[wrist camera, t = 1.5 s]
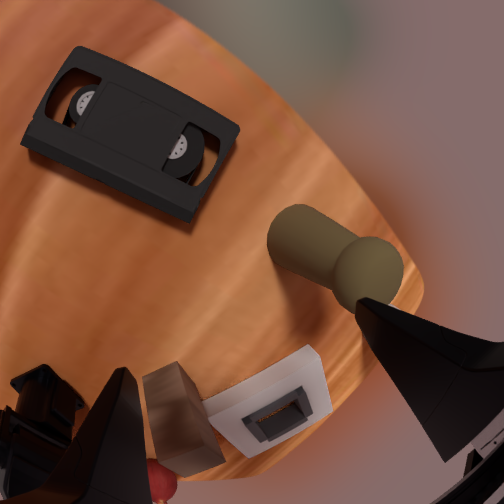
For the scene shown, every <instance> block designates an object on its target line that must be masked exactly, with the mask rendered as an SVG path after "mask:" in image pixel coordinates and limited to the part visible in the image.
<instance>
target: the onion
mask: <svg viewBox="0 0 504 504" xmlns="http://www.w3.org/2000/svg"><path fill="white" fill-rule="evenodd" d="M147 468H148V476H149V483H150V490H151V496H152V501H153V502H156V503H157V504H167V502H166V501H167V500H169V499H170V498H172V497H173V495H174V494H175V492H176V489H177V479H176V476H175V474H174V472H173V471H171V470H170V469H168V468H166V467H165V466H163V465H161V464H159V463H158V462H157V461H156V460H154V459H148V460H147Z"/></svg>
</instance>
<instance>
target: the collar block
mask: <svg viewBox="0 0 504 504" xmlns="http://www.w3.org/2000/svg"><path fill="white" fill-rule="evenodd" d="M293 400H294V404H292V405H290V406H289V407H287V408H285V409H283V410H282V411H280V412H278V413H276V414H274V415H273V416H271V417H269V418H267V419H265V420H263V421H261V422H260V423H259V422H258V421H257V420H259V419H261V418H263V417H265V416H267V415H269V414H270V413H272V412H274V411H276V410H278V409H280V408H281V407H283V406H285V405H287V404H288V403H290V402H292V401H293ZM202 404H203V407H204V410H205V412H206V415H207V417H208V420H209V422H210V424H211V425H212V426H213V427H214V428H215V429H216V430H218V431H219V432H220V433H221V434H222V435H223V436H224V437H225V438H226V439H227V440H228V441H229V442H230V443H231V444H233V445H234V446H235V447H236V448H237V449H238V450H239V451H240V452H242V453H243V454H244V455H245V456H246V457H247V458H251V457H253V456H256V455H258V454H260V453H262V452H264V451H266V450H268V449H270V448H272V447H273V446H275V445H277V444H279V443H281V442H283V441H285V440H287V439H288V438H290V437H292V436H294V435H295V434H297V433H299V432H301V431H302V430H304V429H306V428H307V427H309V426H311V425H312V424H314V423H316V422H317V421H319V420H320V419H322V418H323V417H325V416H326V415H328V414H330V413H331V412H333V409H332V404H331V400H330V396H329V391H328V387H327V383H326V379H325V375H324V370H323V366H322V362H321V358H320V356H319V355H318V354H317V353H316V352H315V351H314V349H313V348H312V347H311V346H310V345H309V344H307V345H305V346H304V347H302V348H300V349H299V350H297V351H296V352H294V353H292V354H291V355H289V356H287V357H285V358H284V359H282V360H280V361H279V362H277V363H275V364H273V365H272V366H270V367H268V368H266V369H265V370H263V371H261V372H259V373H257V374H255V375H254V376H252V377H250V378H248V379H246V380H244V381H242V382H240V383H238V384H237V385H235V386H233V387H231V388H229V389H227V390H225V391H223V392H221V393H219V394H217V395H215V396H212V397H210V398H208V399H206V400H204V401H202Z"/></svg>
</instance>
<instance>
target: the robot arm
mask: <svg viewBox="0 0 504 504" xmlns="http://www.w3.org/2000/svg"><path fill="white" fill-rule="evenodd" d="M355 319H356V322H357V324H358V325H359V327H360V329H361V331H362V333H363V335H364V336H365V338H366V340H367V342H368V344H369V346H370V348H371V349H372V351H373V352H374V354H375V356H376V357H377V358H378V360H379V361H380V363H381V364H382V366H383V367H384V369H385V370H386V371H387V373H388V374H389V376H390V377H391V379H392V380H393V382H394V383H395V385H396V387H397V388H398V390H399V391H400V393H401V394H402V396H403V397H404V399H405V400H406V402H407V403H408V405H409V406H410V408H411V409H412V411H413V413H414V414H415V416H416V417H417V419H418V420H419V422H420V424H421V425H422V427H423V429H424V430H425V432H426V433H427V435H428V437H429V438H430V440H431V441H432V443H433V445H434V446H435V448H436V450H437V451H438V453H439V454H440V456H441V458H442V460H443V461H444V462H445V463H446V462H447V461H448V460H449V459H451V458H452V457H453V456H454V455H456V454H457V453H458V452H459V451H460V450H462V449H463V448H464V447H465V446H466V445H467V444H468V443H470V442H471V444H472V445H473V446H474V449H473V450H472V451H471V452H470V453H469V454H468V456H467V462H466V467H465V471H464V476H463V479H461V480H460V481H459V482H458V483H457V484H455V485H454V486H453V487H452V488H450V489H449V490H448V491H447V492H445V493H444V494H443V495H441V496H440V497H439V498H437V499H436V500H435V501H433V502H432V503H430V504H504V342H491V341H487V340H483V339H480V338H477V337H473V336H469V335H466V334H463V333H460V332H456V331H454V330H451V329H448V328H445V327H443V326H439V325H438V324H435V323H433V322H430V321H428V320H425V319H422V318H420V317H417V316H415V315H412V314H410V313H407V312H404V311H402V310H399V309H397V308H394V307H392V306H389V305H386V304H384V303H381V302H379V301H376V300H373V299H371V298H368V297H363V298H361V299H358V300H357V301H356V308H355ZM45 369H46V370H45ZM10 384H11V386H12V387H13V388H14V389H15V390H16V391H17V392H18V393H19V397H18V401H17V405H16V409H15V411H13V410H12V408H10V407H9V406H7V405H6V407H5V409H4V410H0V493H1V495H2V497H3V499H4V500H0V504H153V503H152V496H151V490H150V483H149V476H148V468H147V460H146V450H145V439H144V426H143V416H142V410H141V404H140V398H139V391H138V385H137V381H136V379H135V378H134V377H133V375H132V374H131V372H130V371H129V370H128V368H126V367H121V368H117V369H115V371H114V372H113V374H112V375H111V377H110V379H109V380H108V382H107V383H106V385H105V387H104V388H103V390H102V392H101V393H100V395H99V396H98V398H97V400H96V401H95V403H94V405H93V406H92V408H91V410H90V411H89V413H88V415H87V416H86V418H85V420H84V422H83V423H82V425H81V427H80V428H79V430H78V432H77V434H76V436H75V437H74V439H73V441H72V426H74V423H75V411H76V410H79V409H82V408H84V402H83V401H82V400H81V399H80V398H79V397H78V396H77V395H76V394H75V393H74V392H73V391H72V390H71V389H70V388H69V387H68V386H67V385H66V384H65V383H64V382H63V381H62V380H61V379H60V378H59V377H58V376H57V375H56V374H55V373H54V372H53V371H52V370H51V369H50V367H49V366H47V365H46V364H42V365H40V366H38V367H36V368H34V369H32V370H30V371H28V372H26V373H24V374H22V375H20V376H18V377H15V378H13V379H12V380H11V382H10Z"/></svg>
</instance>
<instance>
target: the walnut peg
mask: <svg viewBox="0 0 504 504" xmlns="http://www.w3.org/2000/svg"><path fill="white" fill-rule="evenodd" d="M142 379H143V386H144V393H145V400H146V406H147V412H148V418H149V423H150V428H151V433H152V438H153V443H154V447H155V452H156V456H157V460H158V463H159V464H161V465H163V466H165V467H166V468H168V469H170V470H171V471H173V472H175V473H177V474H179V475H180V476H182V477H184V478H186V477H188V476H191V475H194V474H197V473H200V472H202V471H205V470H208V469H210V468H213V467H215V466H218V465H220V464H223V463H225V462H226V460H225V458H224V456H223V453H222V451H221V449H220V447H219V444H218V442H217V440H216V437H215V435H214V432H213V430H212V427H211V425H210V422H209V420H208V417H207V415H206V412H205V410H204V407H203V404H202V402H201V399H200V396H199V394H198V391H197V388H196V385H195V383H194V382H193V381H192V380H191V378H190V377H189V376H188V375H187V373H186V372H185V371H184V370H183V368H182V367H181V366H180V364H179V363H178V362H177V361H175V362H173V363H171V364H169V365H167V366H165V367H163V368H161V369H158V370H156V371H154V372H152V373H150V374H148V375H145V376H143V377H142Z"/></svg>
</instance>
